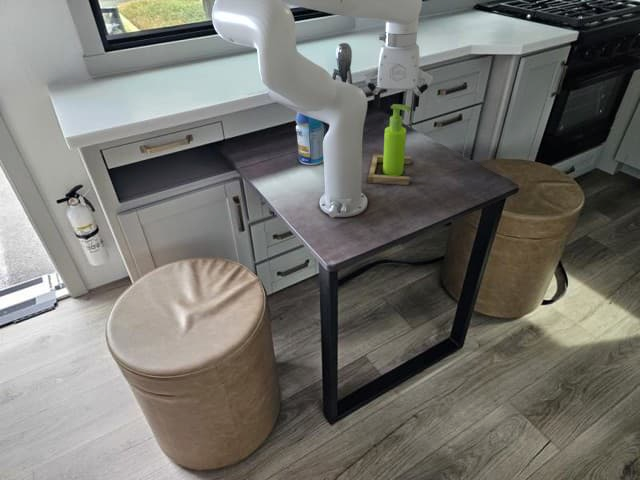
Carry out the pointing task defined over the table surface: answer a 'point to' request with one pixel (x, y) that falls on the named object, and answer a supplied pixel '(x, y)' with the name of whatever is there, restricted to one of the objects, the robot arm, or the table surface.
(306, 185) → the table surface
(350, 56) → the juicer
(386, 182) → the holder
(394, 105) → the soap dispenser
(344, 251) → the table surface
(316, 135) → the blue labeled canister
